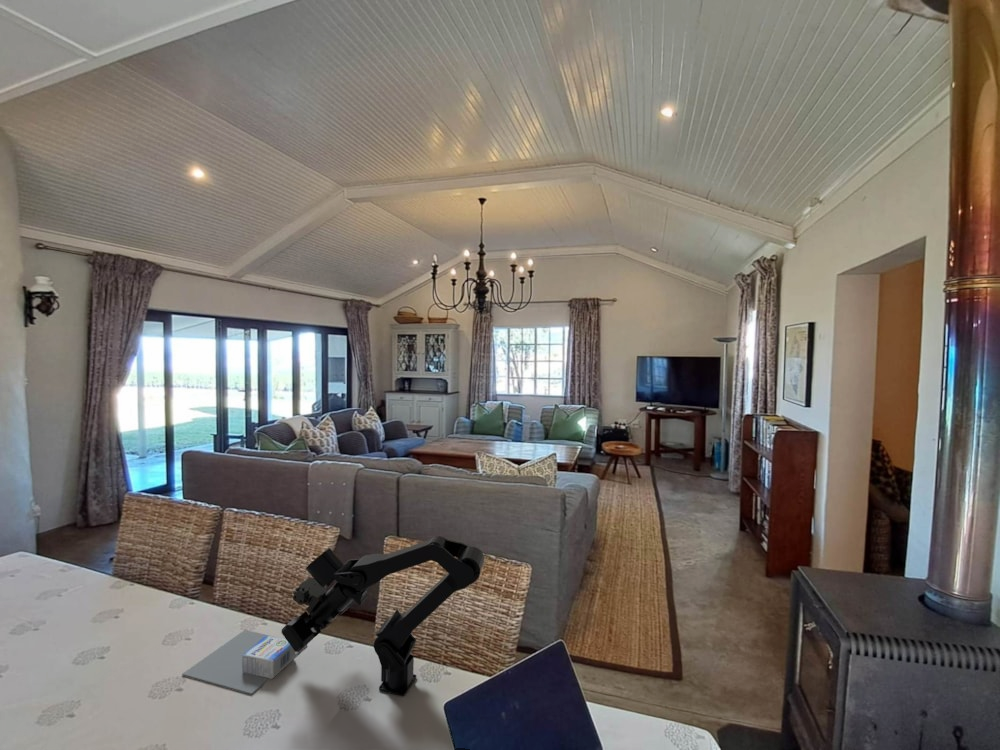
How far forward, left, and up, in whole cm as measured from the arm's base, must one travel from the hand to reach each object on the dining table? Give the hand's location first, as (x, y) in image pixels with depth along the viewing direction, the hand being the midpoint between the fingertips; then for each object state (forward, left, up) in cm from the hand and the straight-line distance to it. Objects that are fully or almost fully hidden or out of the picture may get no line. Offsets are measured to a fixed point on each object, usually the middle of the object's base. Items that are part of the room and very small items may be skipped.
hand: (298, 636), depth 109 cm
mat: (+13, +2, -7) cm, 15 cm away
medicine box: (+2, +2, -5) cm, 6 cm away
